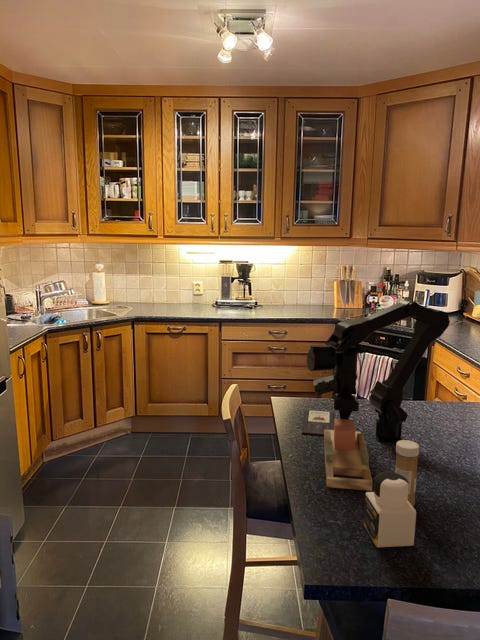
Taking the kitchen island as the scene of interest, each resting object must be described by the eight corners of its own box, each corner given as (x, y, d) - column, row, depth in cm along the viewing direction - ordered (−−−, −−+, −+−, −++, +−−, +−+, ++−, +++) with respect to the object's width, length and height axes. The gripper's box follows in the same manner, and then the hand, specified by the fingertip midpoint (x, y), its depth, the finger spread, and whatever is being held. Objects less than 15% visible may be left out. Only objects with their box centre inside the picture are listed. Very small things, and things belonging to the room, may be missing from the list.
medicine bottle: (363, 524, 94) (366, 468, 92) (398, 523, 94) (402, 466, 92) (376, 548, 87) (380, 487, 85) (414, 546, 87) (419, 486, 85)
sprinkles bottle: (419, 504, 101) (424, 445, 98) (405, 511, 98) (410, 450, 96) (401, 495, 105) (405, 437, 102) (387, 501, 102) (391, 442, 100)
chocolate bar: (301, 432, 136) (305, 410, 154) (301, 435, 136) (305, 413, 154) (333, 435, 134) (333, 412, 152) (333, 438, 135) (333, 415, 152)
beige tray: (360, 438, 134) (360, 425, 133) (372, 490, 106) (373, 474, 106) (323, 436, 135) (324, 422, 134) (326, 486, 108) (327, 470, 107)
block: (352, 437, 129) (353, 419, 129) (354, 450, 122) (355, 431, 121) (333, 435, 130) (334, 418, 129) (334, 448, 123) (335, 430, 122)
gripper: (315, 358, 138) (313, 409, 141) (315, 377, 120) (312, 435, 123) (355, 360, 136) (352, 412, 139) (360, 380, 118) (357, 439, 121)
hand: (343, 424), depth 131 cm, fingers closed
